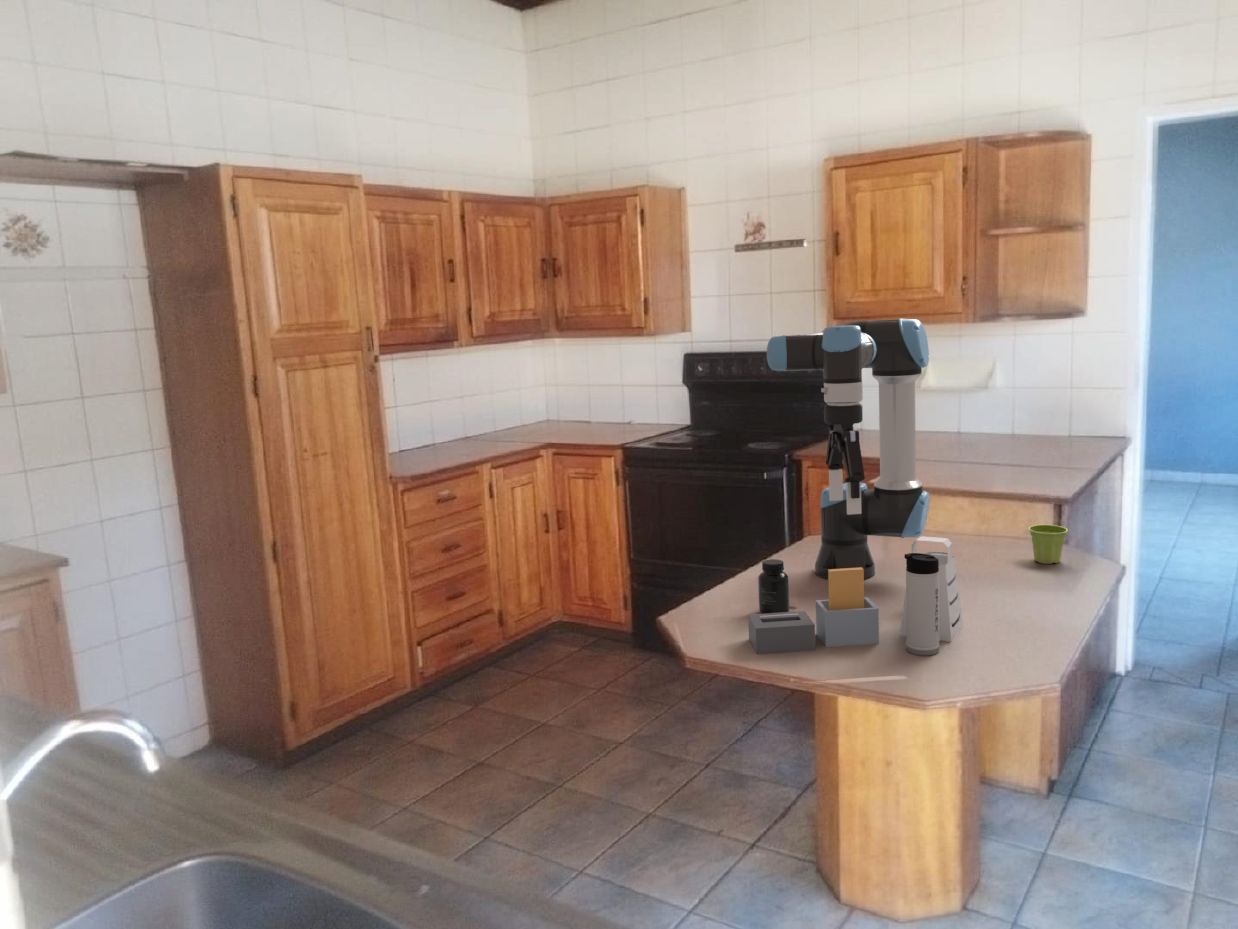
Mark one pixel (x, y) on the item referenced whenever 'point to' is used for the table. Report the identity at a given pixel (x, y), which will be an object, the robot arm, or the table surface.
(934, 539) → the grater
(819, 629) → the bin
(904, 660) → the table surface
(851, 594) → the orange rectangular block
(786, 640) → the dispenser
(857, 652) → the table surface
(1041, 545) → the plant pot
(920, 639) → the travel mug
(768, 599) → the supplement bottle
